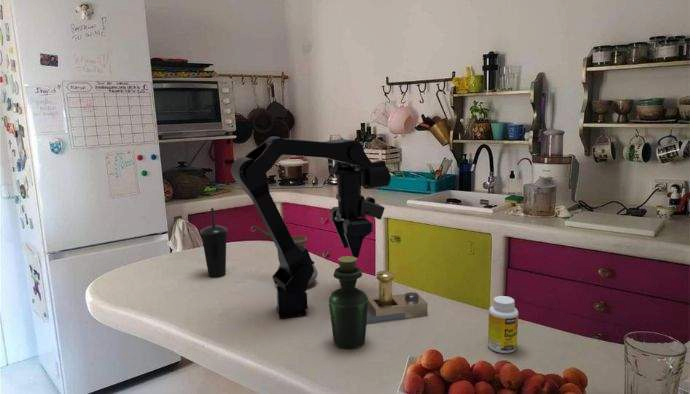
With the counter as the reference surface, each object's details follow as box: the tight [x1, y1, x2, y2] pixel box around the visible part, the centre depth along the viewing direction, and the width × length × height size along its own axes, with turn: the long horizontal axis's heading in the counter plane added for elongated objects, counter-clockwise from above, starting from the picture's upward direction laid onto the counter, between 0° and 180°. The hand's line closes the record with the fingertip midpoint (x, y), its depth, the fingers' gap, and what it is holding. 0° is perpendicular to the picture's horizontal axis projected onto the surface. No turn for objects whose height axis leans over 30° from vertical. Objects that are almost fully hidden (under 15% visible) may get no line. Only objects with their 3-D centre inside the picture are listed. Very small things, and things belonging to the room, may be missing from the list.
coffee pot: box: [249, 224, 319, 287], centre depth 140 cm, size 21×12×15 cm, turn 57°
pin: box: [376, 270, 395, 307], centre depth 117 cm, size 4×4×10 cm
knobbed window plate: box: [366, 291, 429, 325], centre depth 117 cm, size 18×7×4 cm, turn 104°
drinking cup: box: [199, 207, 228, 279], centre depth 145 cm, size 8×8×20 cm
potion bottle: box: [328, 255, 369, 350], centre depth 103 cm, size 8×8×18 cm
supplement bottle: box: [487, 295, 519, 354], centre depth 100 cm, size 6×6×10 cm
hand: (350, 252), depth 125 cm, fingers open, 9 cm apart
